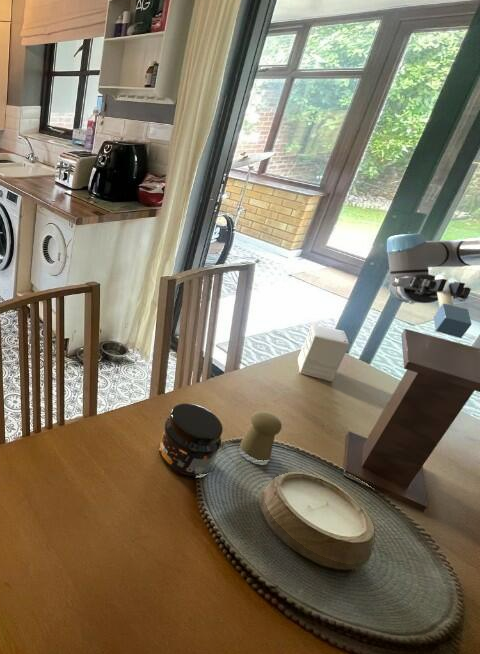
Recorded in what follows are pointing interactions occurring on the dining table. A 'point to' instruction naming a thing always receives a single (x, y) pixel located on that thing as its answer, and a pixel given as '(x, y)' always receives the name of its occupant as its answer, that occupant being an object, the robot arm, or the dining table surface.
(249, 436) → the cork
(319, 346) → the white packaging box
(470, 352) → the stand
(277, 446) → the dining table surface
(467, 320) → the bottle brush
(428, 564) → the dining table surface
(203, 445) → the supplement container
